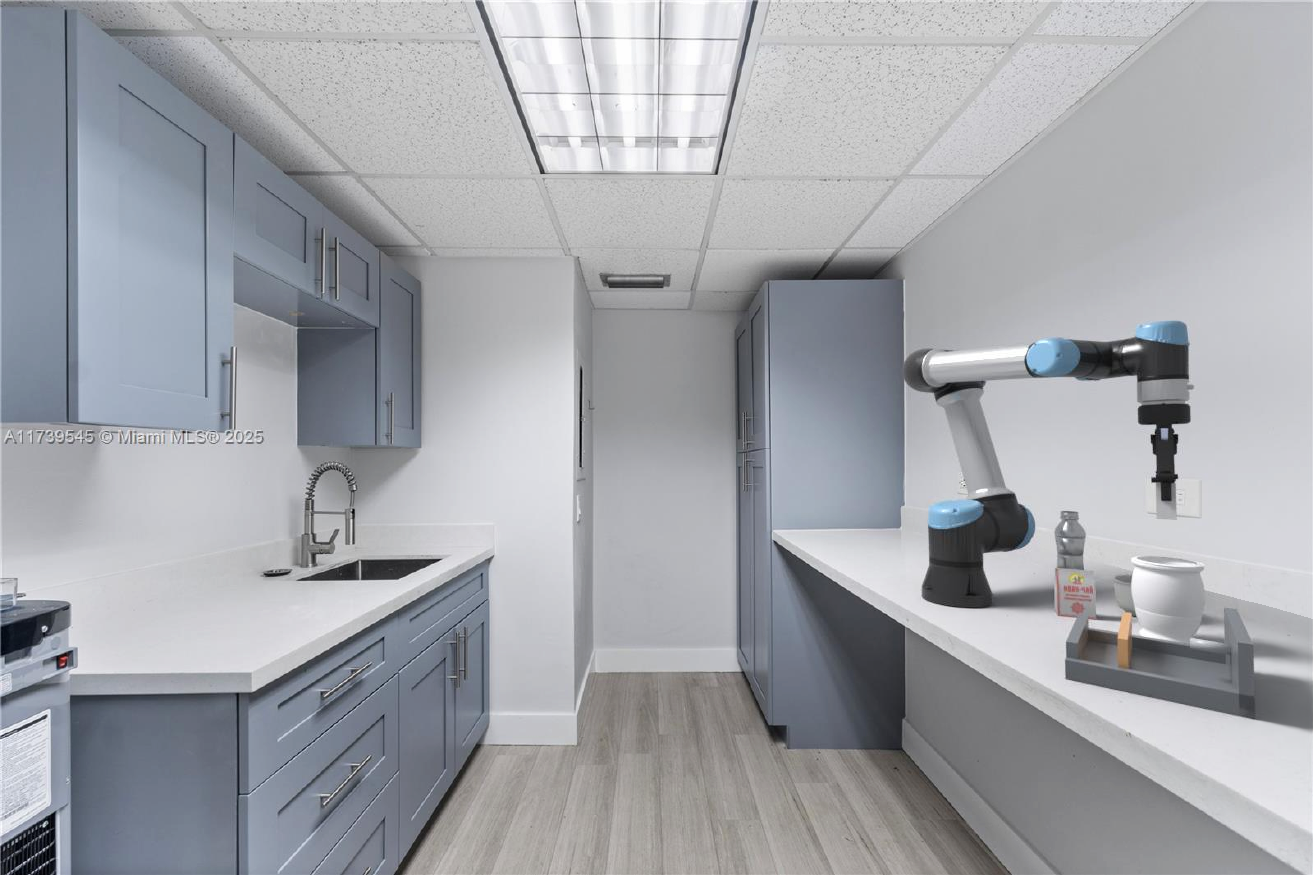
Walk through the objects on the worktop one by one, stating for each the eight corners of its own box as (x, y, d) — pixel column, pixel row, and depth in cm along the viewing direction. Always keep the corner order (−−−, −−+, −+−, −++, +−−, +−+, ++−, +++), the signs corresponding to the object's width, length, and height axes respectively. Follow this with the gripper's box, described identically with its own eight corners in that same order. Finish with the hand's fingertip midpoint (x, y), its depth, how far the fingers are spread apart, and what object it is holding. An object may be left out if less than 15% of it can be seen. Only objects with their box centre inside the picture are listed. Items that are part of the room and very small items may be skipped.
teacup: (1190, 625, 118) (1189, 586, 118) (1125, 620, 121) (1124, 582, 122) (1158, 607, 131) (1157, 571, 131) (1100, 603, 134) (1099, 568, 135)
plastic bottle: (1048, 588, 148) (1046, 510, 148) (1072, 587, 149) (1070, 510, 149) (1068, 595, 141) (1067, 513, 142) (1093, 594, 142) (1092, 513, 142)
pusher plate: (1118, 677, 89) (1117, 638, 89) (1123, 645, 103) (1122, 611, 103) (1128, 679, 88) (1127, 639, 88) (1132, 647, 102) (1131, 613, 102)
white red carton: (1054, 611, 128) (1053, 566, 128) (1092, 615, 125) (1091, 569, 125) (1057, 616, 125) (1056, 569, 125) (1096, 620, 122) (1095, 572, 122)
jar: (1221, 651, 103) (1219, 567, 103) (1154, 648, 105) (1152, 565, 105) (1180, 632, 113) (1178, 556, 113) (1120, 629, 115) (1118, 554, 116)
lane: (1065, 678, 92) (1064, 615, 92) (1079, 642, 108) (1078, 588, 108) (1254, 719, 78) (1253, 644, 78) (1238, 670, 94) (1236, 608, 95)
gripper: (1193, 398, 98) (1196, 524, 97) (1187, 405, 117) (1190, 510, 116) (1135, 401, 103) (1138, 520, 102) (1139, 407, 122) (1141, 508, 121)
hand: (1166, 515), depth 109 cm, fingers open, 13 cm apart
